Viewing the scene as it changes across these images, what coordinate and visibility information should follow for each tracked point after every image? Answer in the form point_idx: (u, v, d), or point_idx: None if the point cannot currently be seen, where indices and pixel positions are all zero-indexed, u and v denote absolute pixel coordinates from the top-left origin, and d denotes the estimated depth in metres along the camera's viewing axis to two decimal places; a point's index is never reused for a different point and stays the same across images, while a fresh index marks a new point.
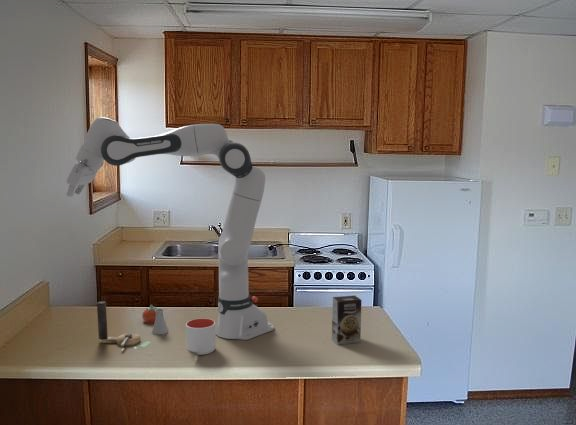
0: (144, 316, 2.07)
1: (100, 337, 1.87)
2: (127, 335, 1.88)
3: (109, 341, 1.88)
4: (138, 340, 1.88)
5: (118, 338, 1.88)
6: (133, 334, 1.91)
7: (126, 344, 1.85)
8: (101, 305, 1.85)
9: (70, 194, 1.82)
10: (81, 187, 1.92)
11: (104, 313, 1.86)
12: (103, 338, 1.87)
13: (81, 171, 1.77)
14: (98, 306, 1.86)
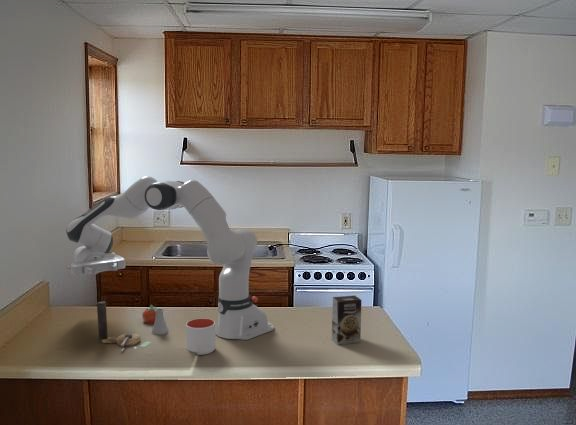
0: (144, 316, 2.07)
1: (100, 337, 1.87)
2: (127, 335, 1.88)
3: (109, 341, 1.88)
4: (138, 340, 1.88)
5: (118, 338, 1.88)
6: (133, 334, 1.91)
7: (126, 344, 1.85)
8: (101, 305, 1.85)
9: (89, 270, 1.97)
10: None
11: (104, 313, 1.86)
12: (103, 338, 1.87)
13: (70, 264, 2.01)
14: (98, 306, 1.86)
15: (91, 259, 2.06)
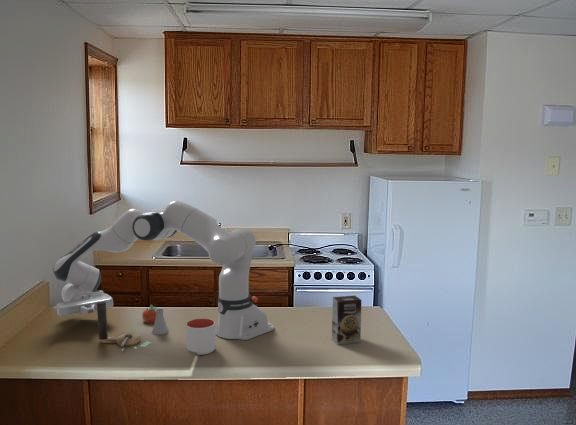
0: (144, 316, 2.07)
1: (100, 337, 1.87)
2: (127, 335, 1.88)
3: (109, 341, 1.88)
4: (138, 340, 1.88)
5: (118, 338, 1.88)
6: (133, 334, 1.91)
7: (126, 344, 1.85)
8: (101, 305, 1.85)
9: (86, 310, 1.97)
10: None
11: (104, 313, 1.86)
12: (103, 338, 1.87)
13: (57, 305, 2.00)
14: (98, 306, 1.86)
15: (78, 299, 2.04)
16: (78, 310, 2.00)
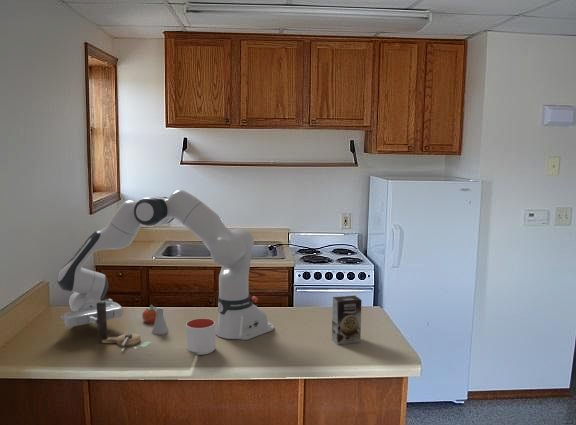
0: (144, 316, 2.07)
1: (100, 337, 1.87)
2: (127, 335, 1.88)
3: (109, 341, 1.87)
4: (138, 340, 1.88)
5: (118, 338, 1.88)
6: (133, 334, 1.91)
7: (126, 344, 1.85)
8: (101, 305, 1.85)
9: (94, 320, 1.88)
10: None
11: (104, 313, 1.86)
12: (103, 338, 1.87)
13: (64, 314, 1.91)
14: (98, 306, 1.85)
15: (86, 308, 1.96)
16: (86, 320, 1.91)
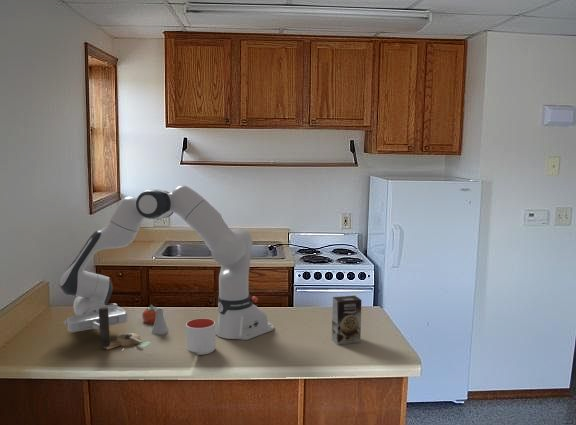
0: (144, 316, 2.07)
1: (106, 344, 1.81)
2: (128, 335, 1.88)
3: (114, 346, 1.83)
4: None
5: (121, 340, 1.86)
6: None
7: (135, 342, 1.87)
8: (106, 310, 1.80)
9: (97, 326, 1.82)
10: None
11: (108, 318, 1.81)
12: (108, 344, 1.82)
13: (67, 319, 1.86)
14: (103, 312, 1.79)
15: (90, 312, 1.90)
16: (90, 325, 1.85)
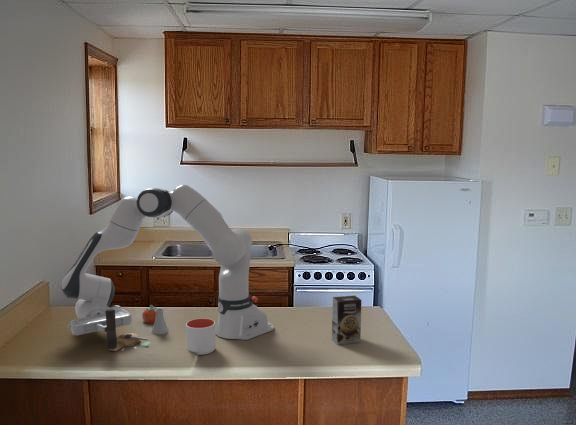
0: (144, 316, 2.07)
1: (114, 346, 1.79)
2: (128, 335, 1.88)
3: (120, 347, 1.82)
4: None
5: (125, 341, 1.85)
6: (123, 335, 1.91)
7: (138, 341, 1.88)
8: (114, 312, 1.79)
9: (102, 328, 1.80)
10: None
11: None
12: (116, 346, 1.80)
13: (71, 322, 1.83)
14: (112, 314, 1.78)
15: (94, 315, 1.88)
16: (94, 328, 1.83)
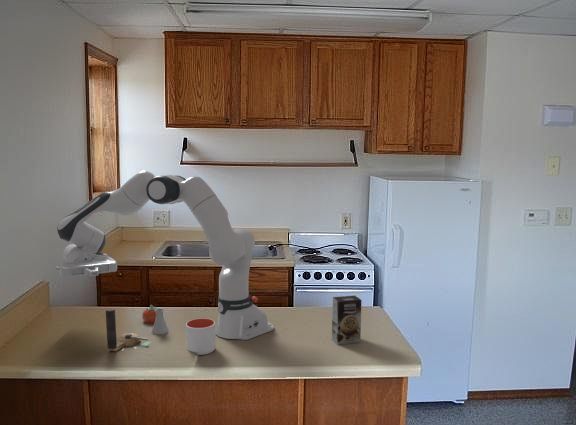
0: (144, 316, 2.07)
1: (114, 346, 1.79)
2: (128, 335, 1.88)
3: (120, 347, 1.82)
4: None
5: (125, 341, 1.85)
6: (123, 335, 1.91)
7: (138, 341, 1.88)
8: (114, 312, 1.79)
9: (89, 272, 1.90)
10: None
11: None
12: (116, 346, 1.80)
13: (59, 265, 1.93)
14: (112, 314, 1.78)
15: (81, 260, 1.98)
16: (81, 272, 1.93)
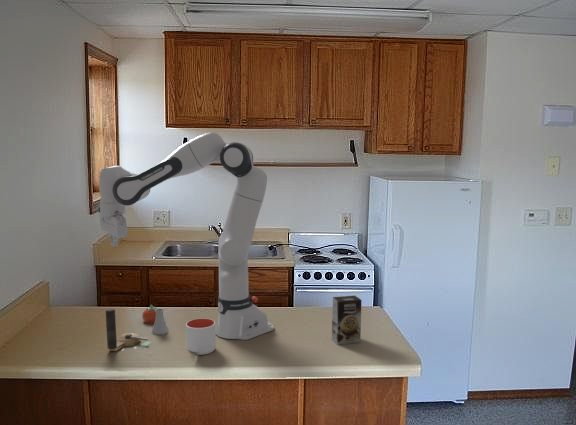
0: (144, 316, 2.07)
1: (114, 346, 1.79)
2: (128, 335, 1.88)
3: (120, 347, 1.82)
4: None
5: (125, 341, 1.85)
6: (123, 335, 1.91)
7: (138, 341, 1.88)
8: (114, 312, 1.79)
9: (116, 244, 1.98)
10: None
11: None
12: (116, 346, 1.80)
13: (125, 222, 1.91)
14: (112, 314, 1.78)
15: None
16: None
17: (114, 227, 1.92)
